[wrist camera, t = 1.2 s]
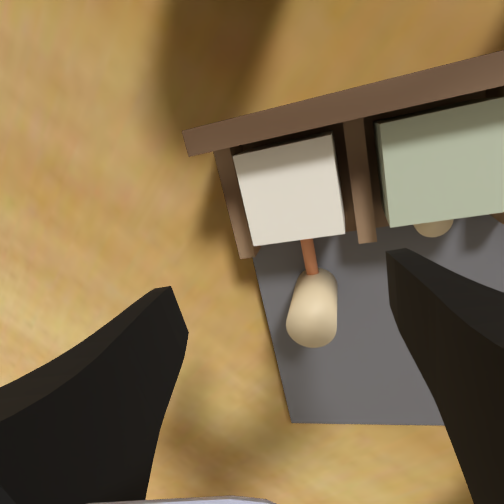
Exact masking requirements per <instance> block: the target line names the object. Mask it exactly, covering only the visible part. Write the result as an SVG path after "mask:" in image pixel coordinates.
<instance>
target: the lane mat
mask: <svg viewBox="0 0 504 504" xmlns="http://www.w3.org/2000/svg"><path fill="white" fill-rule="evenodd" d="M376 235H377V242H371V243H363V244H359V242H358V234H357V231H350V232H345V234H340V235H333V236H326V237H318V238H313V242H314V248H315V254H316V259H317V265H318V268H323V269H325V270H327V271H329V272H330V273H332V274H333V276H334V277H335V279H336V281H337V284H338V295H337V331H336V335H335V337H334V339H333V340H332V341H331V342H330V343H328V344H327V345H325V346H322V347H318V348H309V347H305V346H302V345H300V344H298V343H296V342H295V341H294V340H293V339H292V338H291V337H290V336H289V334H288V332H287V329H286V320H287V316H288V312H289V308H290V305H291V301H292V297H293V293H294V289H295V285H296V282H297V279H298V277H299V275H300V274H301V273H302V272H303V271H305V270H306V269H305V263H304V258H303V253H302V247H301V242H300V240H296V241H289V242H282V243H274V244H267V245H262V246H261V248H260V250H259V252H258V253H257V255H256V257H252V258H253V262H254V266H255V271H256V275H257V279H258V283H259V287H260V292H261V296H262V300H263V304H264V309H265V313H266V317H267V321H268V325H269V330H270V334H271V338H272V342H273V346H274V351H275V355H276V359H277V363H278V368H279V372H280V376H281V380H282V384H283V389H284V393H285V397H286V401H287V405H288V410H289V414H290V418H291V422H292V423H323V424H386V425H444V422H443V420H442V417H441V415H440V412H439V410H438V407H437V405H436V403H435V400H434V398H433V396H432V394H431V392H430V390H429V388H428V386H427V384H426V382H425V380H424V378H423V377H422V375H421V373H420V371H419V369H418V367H417V365H416V363H415V361H414V359H413V358H412V356H411V354H410V352H409V350H408V348H407V346H406V344H405V342H404V340H403V338H402V336H401V334H400V332H399V330H398V327H397V325H396V322H395V319H394V316H393V314H392V311H391V308H390V305H389V292H388V278H387V265H386V252H385V251H390V250H396V249H402V248H407V249H410V250H412V251H414V252H416V253H418V254H420V255H422V256H423V257H425V258H427V259H429V260H431V261H433V262H435V263H437V264H439V265H441V266H443V267H445V268H447V269H449V270H451V271H453V272H455V273H457V274H459V275H462V276H464V277H466V278H468V279H471V280H473V281H475V282H478V283H480V284H483V285H485V286H487V287H490V288H493V289H495V290H498V291H501V292H504V225H503V224H502V223H500V222H499V221H498V220H496V219H495V218H493V217H492V216H491V215H489V214H487V215H480V216H473V217H465V218H458V219H454V220H453V224H452V226H451V228H450V229H449V230H448V231H447V232H446V233H445V234H443V235H441V236H438V237H426V236H423V235H421V234H420V233H419V232H418V231H417V230H416V229H415V227H414V225H406V226H399V227H392V228H390V226H386V227H379V228H376Z"/></svg>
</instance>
